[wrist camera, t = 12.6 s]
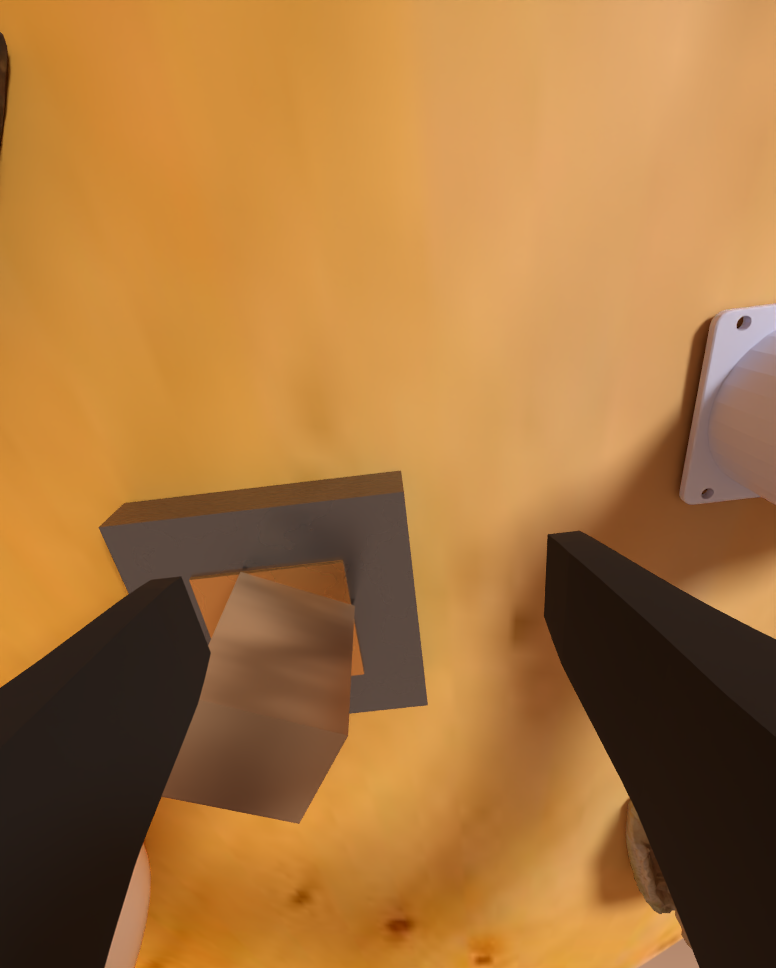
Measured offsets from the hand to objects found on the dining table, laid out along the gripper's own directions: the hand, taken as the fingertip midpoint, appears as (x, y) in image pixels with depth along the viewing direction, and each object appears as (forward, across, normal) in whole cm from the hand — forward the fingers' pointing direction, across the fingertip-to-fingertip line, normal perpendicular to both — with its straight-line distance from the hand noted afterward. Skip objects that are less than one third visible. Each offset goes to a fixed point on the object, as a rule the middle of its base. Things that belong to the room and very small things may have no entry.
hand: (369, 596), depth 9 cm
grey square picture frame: (+10, +5, +8) cm, 14 cm away
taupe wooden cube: (+8, +5, +8) cm, 13 cm away
